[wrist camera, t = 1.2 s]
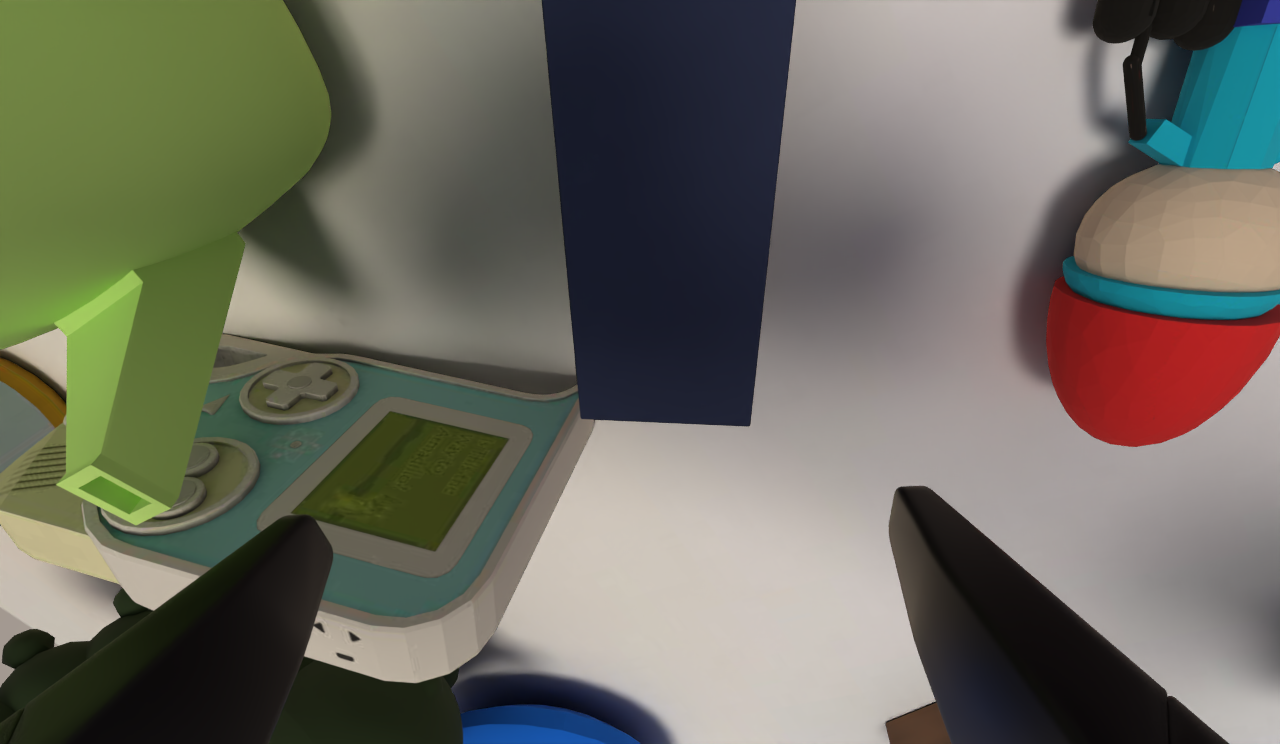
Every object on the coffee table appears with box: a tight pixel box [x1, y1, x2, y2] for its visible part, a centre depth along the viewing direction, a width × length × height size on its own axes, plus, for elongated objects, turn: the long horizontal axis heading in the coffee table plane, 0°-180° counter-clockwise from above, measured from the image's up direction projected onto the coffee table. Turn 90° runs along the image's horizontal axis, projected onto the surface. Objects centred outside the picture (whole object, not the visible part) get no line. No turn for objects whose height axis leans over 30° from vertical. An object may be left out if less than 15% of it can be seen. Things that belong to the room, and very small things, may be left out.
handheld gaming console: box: [0, 334, 594, 683], centre depth 19 cm, size 11×3×15 cm
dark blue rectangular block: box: [542, 0, 796, 426], centre depth 16 cm, size 11×5×4 cm, turn 1°
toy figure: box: [1046, 0, 1280, 447], centre depth 15 cm, size 8×5×15 cm
